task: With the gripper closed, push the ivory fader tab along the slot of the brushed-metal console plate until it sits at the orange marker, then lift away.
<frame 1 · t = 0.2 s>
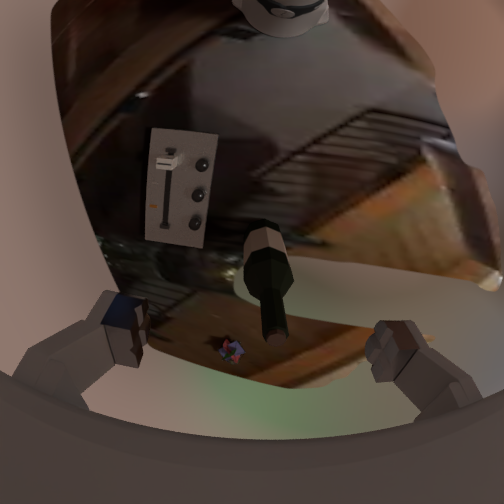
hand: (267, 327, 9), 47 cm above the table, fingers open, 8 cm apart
geometric puzzle: (231, 342, 76), on the table
console: (179, 187, 54), on the table
fader: (167, 162, 47), point 4 cm above the table, slide at 0.0 cm
wine bottle: (263, 236, 60), on the table
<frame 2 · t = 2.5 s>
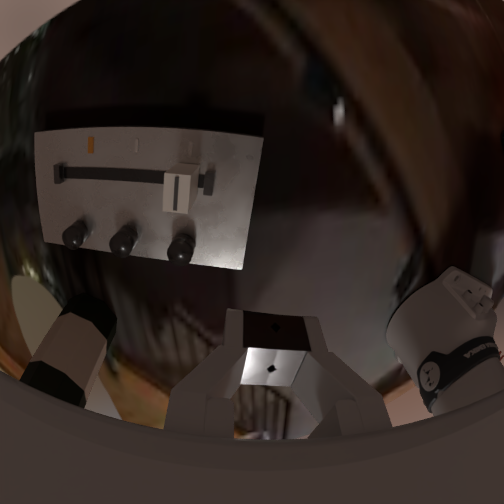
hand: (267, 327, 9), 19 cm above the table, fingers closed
console: (133, 189, 25), on the table
fader: (181, 186, 21), point 4 cm above the table, slide at 0.0 cm
wine bottle: (93, 315, 34), on the table
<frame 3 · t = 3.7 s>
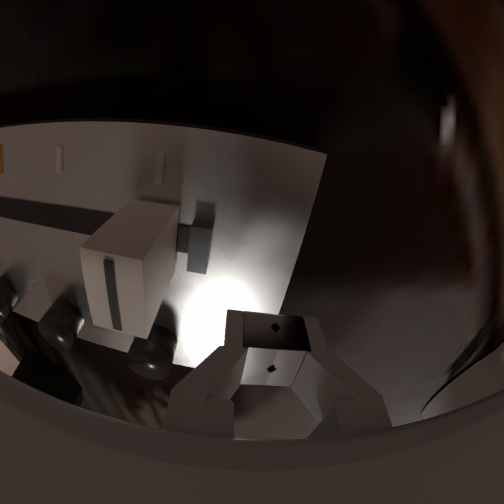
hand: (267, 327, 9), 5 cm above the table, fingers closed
console: (71, 233, 13), on the table
fader: (135, 263, 9), point 4 cm above the table, slide at 0.0 cm
wine bottle: (53, 376, 22), on the table
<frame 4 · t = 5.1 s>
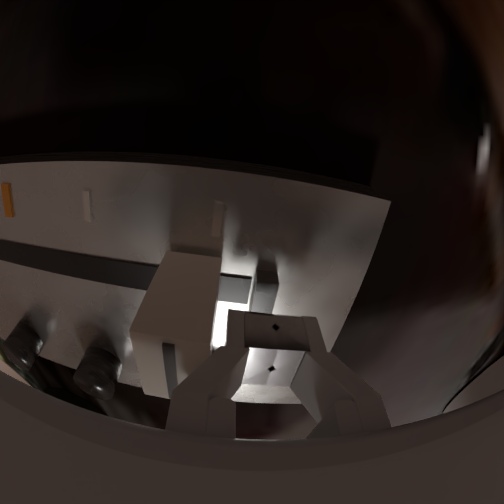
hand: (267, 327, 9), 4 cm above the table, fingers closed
console: (101, 277, 13), on the table
fader: (182, 325, 8), point 4 cm above the table, slide at 0.7 cm, touching gripper
wine bottle: (78, 408, 21), on the table
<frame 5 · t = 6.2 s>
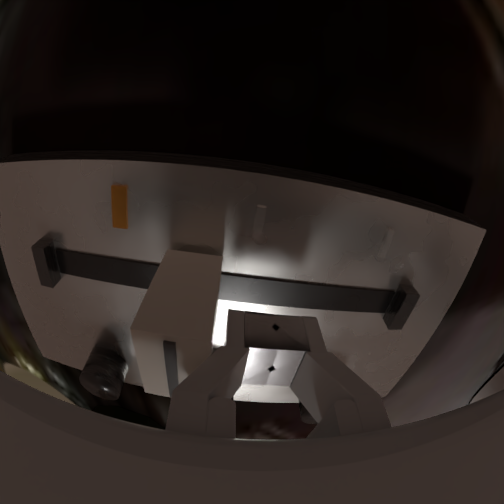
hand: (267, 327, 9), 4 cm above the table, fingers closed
console: (220, 295, 13), on the table
fader: (183, 324, 8), point 4 cm above the table, slide at 7.1 cm, touching gripper
wine bottle: (131, 423, 22), on the table
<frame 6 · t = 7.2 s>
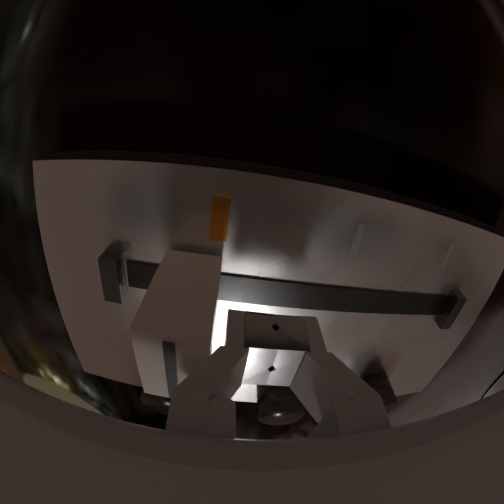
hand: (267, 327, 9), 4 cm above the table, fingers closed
console: (293, 303, 14), on the table
fader: (183, 324, 8), point 4 cm above the table, slide at 10.7 cm, touching gripper
wine bottle: (164, 431, 22), on the table
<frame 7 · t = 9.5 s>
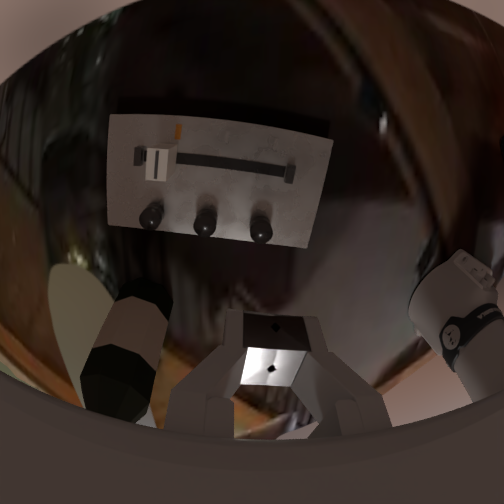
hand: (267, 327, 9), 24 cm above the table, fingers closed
console: (212, 175, 30), on the table
fader: (161, 161, 24), point 4 cm above the table, slide at 10.9 cm
wine bottle: (146, 300, 38), on the table
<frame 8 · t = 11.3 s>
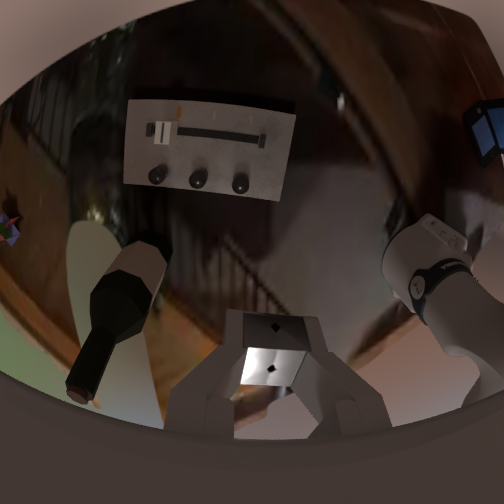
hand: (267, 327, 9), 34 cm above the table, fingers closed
geometric puzzle: (16, 222, 42), on the table
handheld game console: (483, 130, 35), on the table
console: (205, 145, 38), on the table
fader: (166, 131, 33), point 4 cm above the table, slide at 10.9 cm
wine bottle: (150, 250, 46), on the table
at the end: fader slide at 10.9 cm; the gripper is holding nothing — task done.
